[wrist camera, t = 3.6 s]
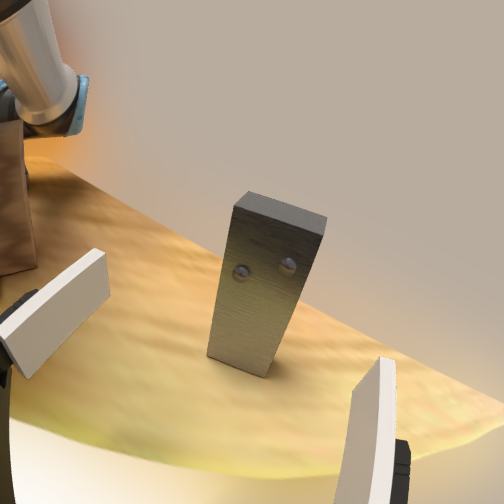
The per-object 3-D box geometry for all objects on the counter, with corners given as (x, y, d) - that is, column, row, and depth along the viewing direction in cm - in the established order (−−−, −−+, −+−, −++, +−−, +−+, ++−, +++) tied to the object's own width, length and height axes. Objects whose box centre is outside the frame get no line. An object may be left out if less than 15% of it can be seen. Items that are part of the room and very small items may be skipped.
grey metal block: (263, 380, 27) (323, 237, 18) (205, 357, 28) (232, 206, 19) (273, 353, 30) (327, 215, 21) (219, 333, 31) (249, 189, 22)
